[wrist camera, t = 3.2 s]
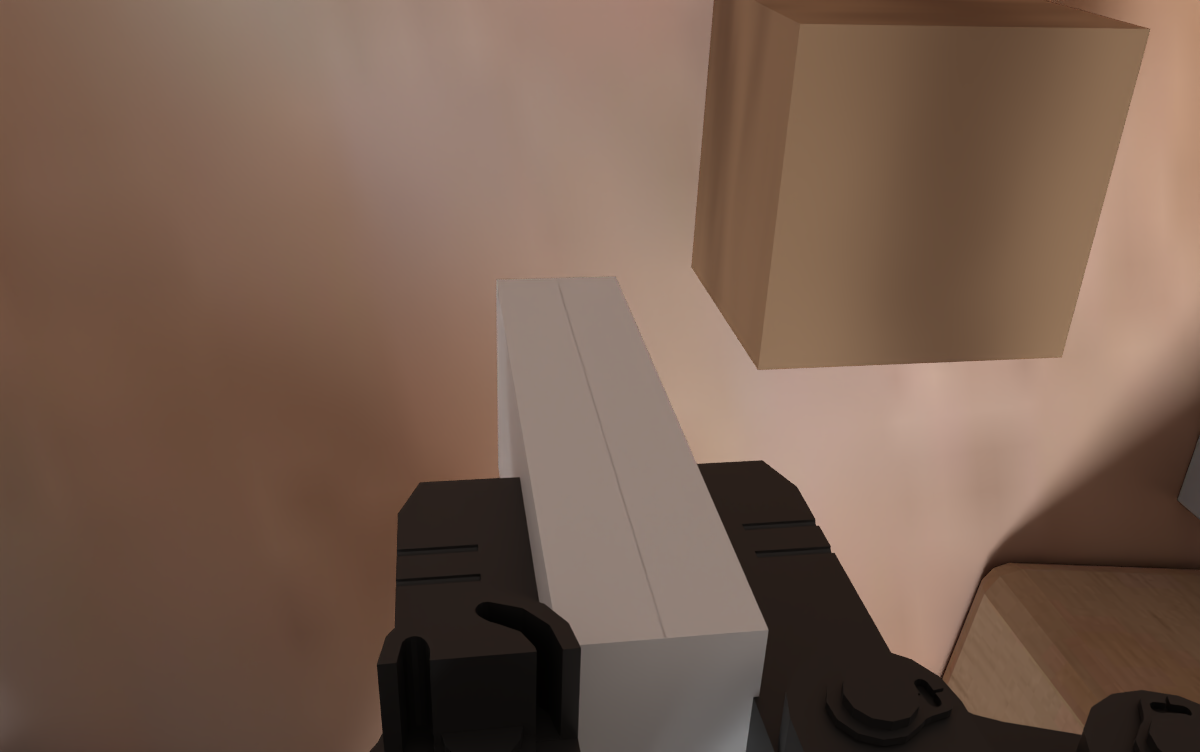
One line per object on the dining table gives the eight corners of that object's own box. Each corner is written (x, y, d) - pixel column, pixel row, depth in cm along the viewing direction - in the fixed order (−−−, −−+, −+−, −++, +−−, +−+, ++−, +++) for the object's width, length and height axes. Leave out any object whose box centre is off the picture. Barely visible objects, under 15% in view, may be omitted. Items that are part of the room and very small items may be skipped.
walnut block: (690, 265, 27) (757, 369, 22) (714, -19, 24) (800, 23, 19) (940, 259, 28) (1061, 357, 23) (995, -14, 25) (1150, 28, 20)
